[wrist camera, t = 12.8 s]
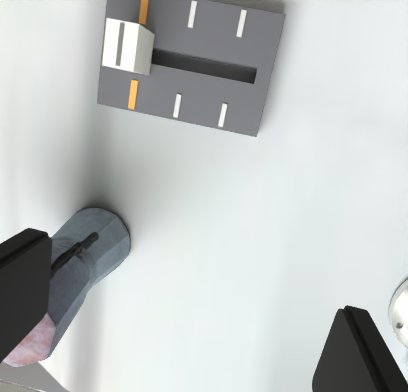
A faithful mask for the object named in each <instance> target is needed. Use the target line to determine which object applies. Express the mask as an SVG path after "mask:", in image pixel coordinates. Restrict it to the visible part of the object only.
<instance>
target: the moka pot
mask: <svg viewBox="0 0 408 392" xmlns="http://www.w3.org/2000/svg"><path fill="white" fill-rule="evenodd" d="M51 239H52V256H51V271H50V286H49V301H48V310H47V313H46V315H45V316H44V318H43V319H42V320H41V321H40V322H39V323H38V324H37V325H36V326H35V328H34V329H33V330H32V331H31V332H30V333H29V334H28V335H27V336H26V337H25V338H24V339H23V340H22V341H21V342H20V343H19V344H18V345H17V346H16V347H15V348H14V349H13V351H12V352H11V353H10V354H9V355H8V356H7V357H6V358H5V359H4V360H3V362H5V363H7V364H9V365H11V366H14V367H20V366H23V365H27V364H30V363H34V362H38V361H41V360H45V359H47V358H48V357H50V355H51V354H52V352H53V350H54V349H55V347H56V346H57V344H58V342H59V341H60V339H61V338H62V336H63V335H64V333H65V331H66V330H67V328H68V326H69V325H70V323H71V322H72V320H73V318H74V317H75V315H76V314H77V312H78V310H79V309H80V307H81V306H82V304H83V302H84V299H85V296H86V293H87V292H88V291H89V290H90V289H91V288H92V287H93V286H94V285H95V284H96V283H98V282H99V281H100V280H102V279H103V278H104V277H106V276H107V275H108V274H109V273H111V272H112V271H113V270H115V269H116V268H117V267H118V266H119V265H120V264H121V263H122V262H123V261H124V259H125V258H126V257H127V256H128V255H129V250H130V238H129V234H128V231H127V229H126V227H125V226H124V224H123V223H122V221H121V220H120V219H119V217H118V216H117V215H115V214H113V213H111V212H109V211H107V210H104V209H101V208H88V209H84V210H79V211H78V212H77V213H75V214H74V215H73V216H72V217H71V218H70V219H69V220H68V221H67V222H66V223H65V224H64V225H63V226H62V227H61V228H60V229H59V230H58V231H57V233H56V234H54V235H53V236H52V237H51Z"/></svg>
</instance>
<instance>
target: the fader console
mask: <svg viewBox="0 0 408 392" xmlns="http://www.w3.org/2000/svg"><path fill="white" fill-rule="evenodd" d="M285 15H286V14H280V13H275V12H269V11H264V10H258V9H253V8H247V7H242V6H236V5H231V4H225V3H220V2H214V1H209V0H107V5H106V15H105V26H104V36H103V46H102V57H101V67H100V78H99V88H98V98H97V104H102V105H107V106H111V107H116V108H121V109H126V110H130V111H135V112H140V113H145V114H149V115H154V116H159V117H164V118H168V119H173V120H178V121H183V122H187V123H192V124H197V125H202V126H206V127H211V128H216V129H221V130H225V131H230V132H235V133H240V134H244V135H249V136H254V137H257V133H258V128H259V124H260V120H261V116H262V112H263V107H264V103H265V99H266V95H267V90H268V86H269V82H270V78H271V74H272V69H273V65H274V61H275V57H276V53H277V48H278V44H279V40H280V36H281V32H282V27H283V23H284V19H285ZM107 18H110V19H115V20H121V21H126V22H131V23H136V24H140V25H141V26H143V27H144V28H146V29H147V30H149V31H150V32H152V33H153V34H155V36H154V43H153V50H158V51H163V52H168V53H173V54H178V55H183V56H188V57H194V58H199V59H204V60H209V61H214V62H219V63H224V64H229V65H235V66H240V67H245V68H250V69H255V70H257V73H256V77H255V82H254V84H251V83H246V82H241V81H236V80H231V79H226V78H221V77H216V76H211V75H206V74H201V73H196V72H191V71H186V70H181V69H176V68H170V67H165V66H160V65H155V64H151V65H150V73H149V75H145V74H140V73H135V72H130V71H125V70H120V69H116V68H112V67H108V66H103V65H102V62H103V51H104V41H105V31H106V20H107Z"/></svg>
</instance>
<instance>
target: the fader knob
mask: <svg viewBox="0 0 408 392" xmlns="http://www.w3.org/2000/svg"><path fill="white" fill-rule="evenodd" d="M154 36H155V34H153V33H152V32H150V31H149V30H147V29H146V28H144V27H143V26H141V25H140V24H136V23H131V22H126V21H121V20H115V19H110V18H107V20H106V31H105V41H104V51H103V62H102V65H103V66H108V67H112V68H116V69H120V70H125V71H130V72H135V73H140V74H145V75H149V73H150V65H151V58H152V51H153V43H154Z"/></svg>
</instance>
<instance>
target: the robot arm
mask: <svg viewBox="0 0 408 392" xmlns="http://www.w3.org/2000/svg"><path fill="white" fill-rule="evenodd" d="M51 256H52V239H51V238H50V237H49V236H48V233H47V232H44V231H40V230H36V229H32V228H28V229H25V230H24V231H22V232H20V233H18V234H17V235H15V236H13V237H11V238H10V239H8V240H6V241H4V242H3V243H1V244H0V363H1V362H2V361H3V360H4V359H5V358H6V357H7V356H8V355H9V354H10V353H11V352H12V351H13V349H14V348H15V347H16V346H17V345H18V344H19V343H20V342H21V341H22V340H23V339H24V338H25V337H26V336H27V335H28V334H29V333H30V332H31V331H32V330H33V329H34V328H35V326H36V325H37V324H38V323H39V322H40V321H41V320H42V319H43V318H44V316H45V315H46V313H47V310H48V301H49V286H50V271H51ZM389 320H390V325H391V327H392V329H393V332H394V333H395V335H396V336H397V338H398V340H399V341H400V342H401V343H402V344H403V345H404V346H405V347H406V348H408V279H407V280H406V281H405V282H404V283H403V284H402V285H401V286H400V287H399V288H398V290H397V291H396V292H395V294H394V296H393V298H392V300H391V304H390V307H389ZM312 390H313V392H408V380H407V381H406V380H405V378H404V376H403V374H402V372H401V371H400V369H399V367H398V365H397V363H396V362H395V360H394V358H393V356H392V354H391V352H390V351H389V349H388V347H387V345H386V343H385V342H384V340H383V338H382V336H381V334H380V333H379V331H378V329H377V327H376V325H375V323H374V322H373V320H372V318H371V316H370V314H369V313H368V311H367V310H364V309H360V308H356V307H352V306H348V305H347V306H345V308H344V309H338V311H337V313H336V316H335V318H334V321H333V324H332V327H331V329H330V332H329V335H328V338H327V340H326V343H325V346H324V349H323V351H322V354H321V357H320V360H319V362H318V365H317V368H316V371H315V373H314V376H313V381H312ZM0 392H45V391H42V390H38V389H34V388H31V387H27V386H23V385H20V384H16V383H12V382H8V381H5V380H1V379H0Z"/></svg>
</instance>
